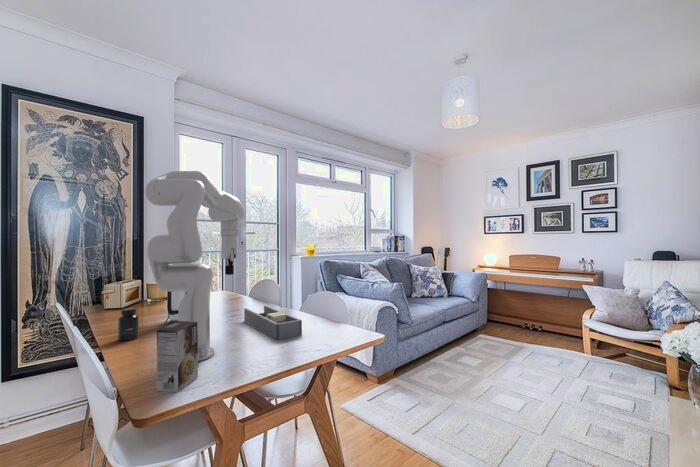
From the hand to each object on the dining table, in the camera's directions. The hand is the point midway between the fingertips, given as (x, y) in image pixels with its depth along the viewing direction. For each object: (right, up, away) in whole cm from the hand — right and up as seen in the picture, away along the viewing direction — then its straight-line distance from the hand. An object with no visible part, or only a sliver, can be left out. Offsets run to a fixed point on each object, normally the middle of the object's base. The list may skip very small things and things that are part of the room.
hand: (229, 274), depth 144 cm
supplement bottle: (-35, -24, -15) cm, 45 cm away
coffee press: (-28, -25, +12) cm, 39 cm away
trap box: (+18, -24, +1) cm, 30 cm away
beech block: (+22, -21, -2) cm, 31 cm away
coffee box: (+7, -23, -56) cm, 61 cm away
